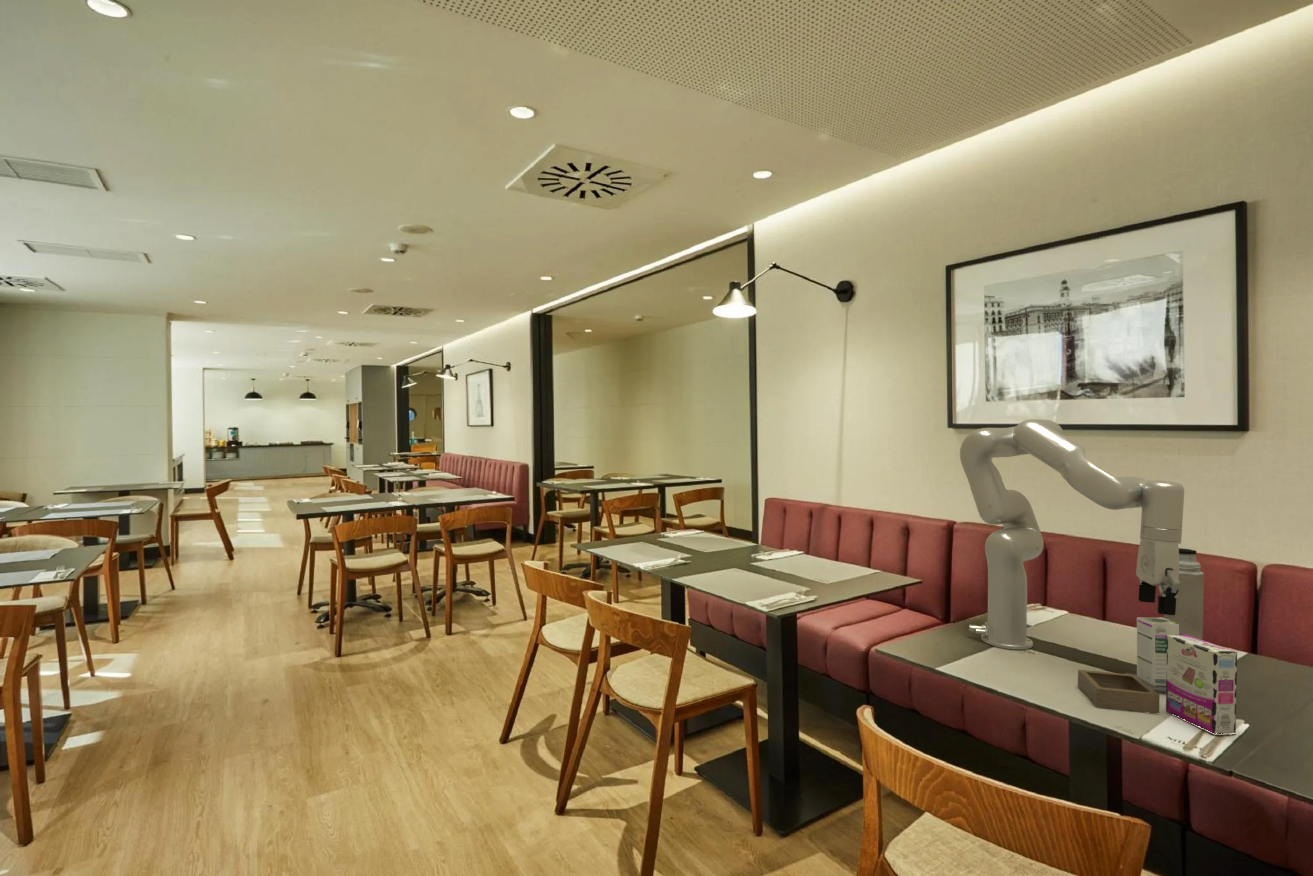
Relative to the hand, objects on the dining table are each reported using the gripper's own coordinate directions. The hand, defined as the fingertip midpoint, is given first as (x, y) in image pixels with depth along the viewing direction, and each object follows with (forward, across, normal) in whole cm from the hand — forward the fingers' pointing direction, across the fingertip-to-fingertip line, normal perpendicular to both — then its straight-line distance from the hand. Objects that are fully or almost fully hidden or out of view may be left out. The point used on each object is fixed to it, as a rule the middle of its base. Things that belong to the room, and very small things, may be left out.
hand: (1156, 607), depth 150 cm
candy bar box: (+18, +21, 0) cm, 27 cm away
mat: (+18, +1, +1) cm, 18 cm away
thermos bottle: (+18, -25, +17) cm, 35 cm away
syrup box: (+17, 0, +1) cm, 17 cm away
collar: (+18, +12, -11) cm, 25 cm away
